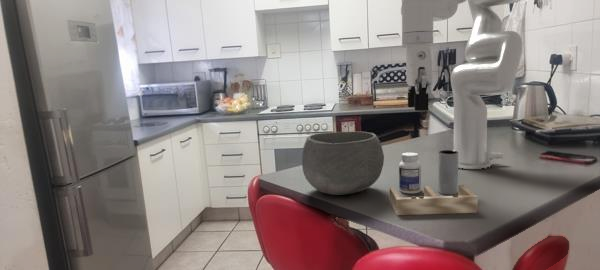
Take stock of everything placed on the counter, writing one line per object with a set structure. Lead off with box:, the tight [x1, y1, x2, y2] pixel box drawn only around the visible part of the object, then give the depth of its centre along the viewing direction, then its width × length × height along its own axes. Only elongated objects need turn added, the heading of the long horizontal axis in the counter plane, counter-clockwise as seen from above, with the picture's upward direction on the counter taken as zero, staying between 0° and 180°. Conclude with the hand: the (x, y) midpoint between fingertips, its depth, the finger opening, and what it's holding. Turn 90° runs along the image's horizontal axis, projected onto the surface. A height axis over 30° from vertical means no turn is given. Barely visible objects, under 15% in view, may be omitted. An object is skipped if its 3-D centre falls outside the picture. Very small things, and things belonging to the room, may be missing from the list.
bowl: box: [301, 131, 385, 196], centre depth 103 cm, size 21×21×15 cm
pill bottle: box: [398, 152, 422, 195], centre depth 102 cm, size 5×5×10 cm
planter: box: [438, 149, 459, 196], centre depth 99 cm, size 4×4×10 cm
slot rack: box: [389, 184, 479, 216], centre depth 90 cm, size 17×9×4 cm, turn 87°
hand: (417, 108), depth 102 cm, fingers open, 9 cm apart
